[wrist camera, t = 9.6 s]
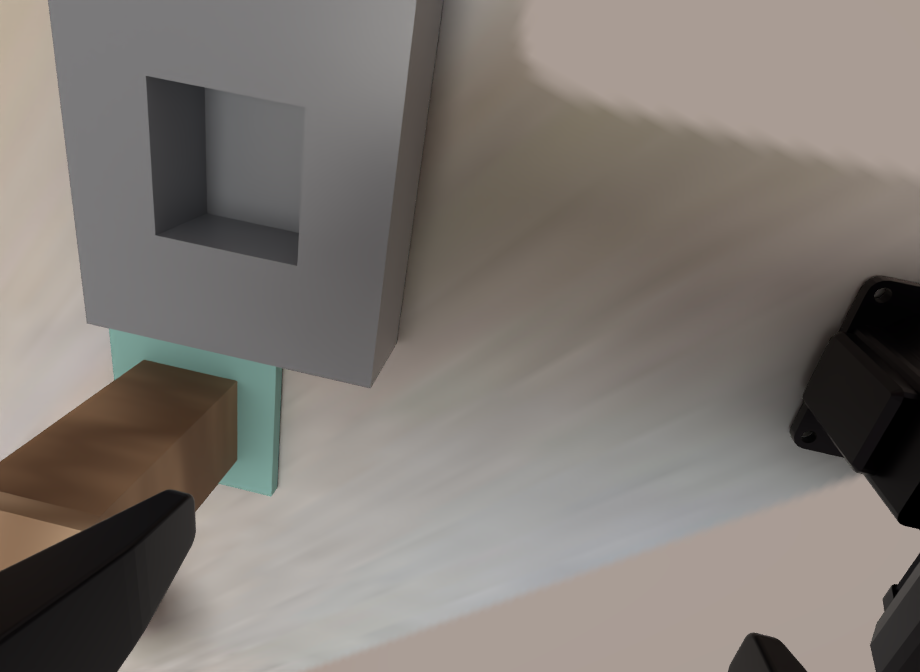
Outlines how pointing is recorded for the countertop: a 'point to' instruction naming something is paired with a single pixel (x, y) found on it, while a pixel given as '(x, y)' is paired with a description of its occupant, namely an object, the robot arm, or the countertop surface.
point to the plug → (118, 455)
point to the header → (248, 171)
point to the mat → (253, 401)
